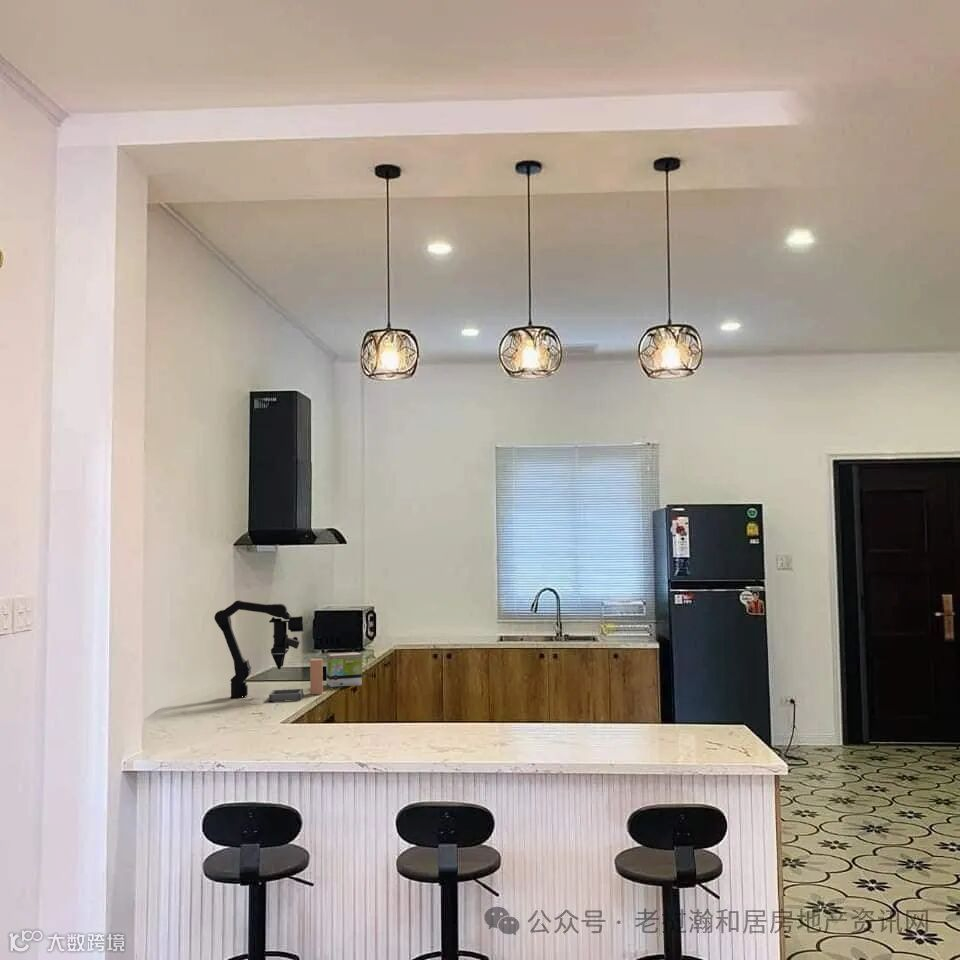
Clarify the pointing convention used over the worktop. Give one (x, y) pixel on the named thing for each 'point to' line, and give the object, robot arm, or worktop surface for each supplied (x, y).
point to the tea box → (344, 669)
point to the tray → (286, 695)
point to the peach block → (316, 676)
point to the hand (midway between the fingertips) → (280, 667)
